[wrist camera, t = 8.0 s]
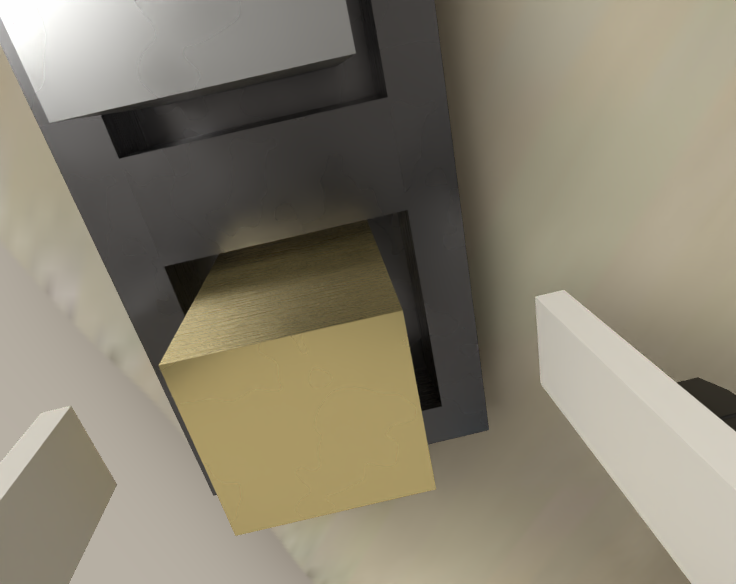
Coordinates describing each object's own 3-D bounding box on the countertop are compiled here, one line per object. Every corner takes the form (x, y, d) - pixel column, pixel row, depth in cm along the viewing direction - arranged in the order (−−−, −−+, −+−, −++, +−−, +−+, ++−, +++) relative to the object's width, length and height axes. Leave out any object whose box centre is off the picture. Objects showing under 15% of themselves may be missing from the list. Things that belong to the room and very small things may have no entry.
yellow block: (392, 345, 18) (435, 489, 12) (263, 374, 18) (235, 535, 12) (366, 219, 16) (402, 310, 10) (220, 252, 16) (158, 365, 10)
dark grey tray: (464, 381, 20) (488, 429, 17) (227, 437, 20) (213, 495, 17) (365, -296, 11) (381, -417, 9) (-47, -207, 11) (-162, -298, 9)
